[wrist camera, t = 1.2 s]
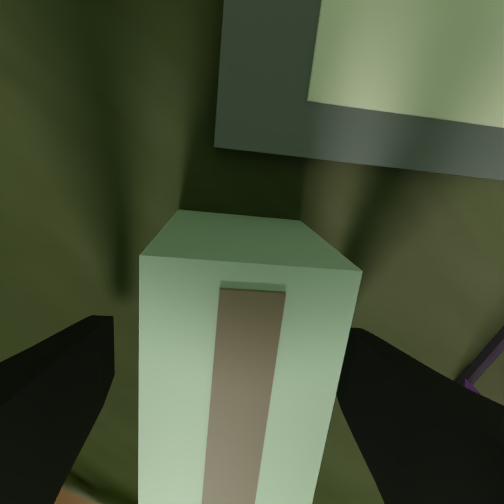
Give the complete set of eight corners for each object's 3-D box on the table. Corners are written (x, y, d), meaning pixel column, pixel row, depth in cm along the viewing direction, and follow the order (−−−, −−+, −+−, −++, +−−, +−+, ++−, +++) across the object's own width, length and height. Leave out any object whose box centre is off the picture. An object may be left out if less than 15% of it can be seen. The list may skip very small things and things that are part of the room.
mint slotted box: (299, 219, 11) (364, 272, 6) (270, 411, 13) (300, 568, 8) (178, 208, 10) (137, 257, 5) (171, 409, 12) (136, 575, 7)
